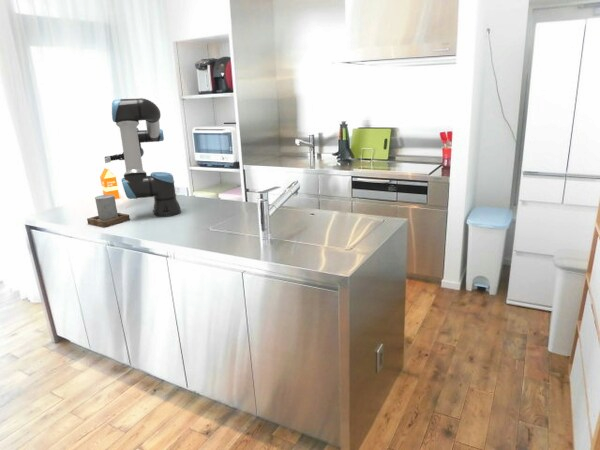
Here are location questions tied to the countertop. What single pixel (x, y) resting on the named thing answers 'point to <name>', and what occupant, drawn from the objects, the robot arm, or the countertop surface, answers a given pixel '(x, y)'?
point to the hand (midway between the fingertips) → (117, 160)
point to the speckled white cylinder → (106, 207)
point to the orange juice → (109, 183)
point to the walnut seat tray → (110, 222)
